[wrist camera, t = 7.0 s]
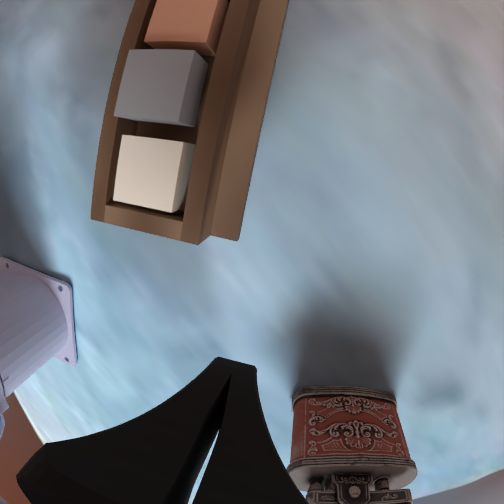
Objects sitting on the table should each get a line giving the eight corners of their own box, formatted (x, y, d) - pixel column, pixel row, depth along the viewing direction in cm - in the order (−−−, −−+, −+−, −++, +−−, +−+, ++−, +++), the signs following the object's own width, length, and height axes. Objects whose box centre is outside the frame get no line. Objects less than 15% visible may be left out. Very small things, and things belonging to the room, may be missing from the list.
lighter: (288, 414, 22) (276, 524, 13) (296, 380, 21) (287, 498, 12) (387, 420, 21) (409, 522, 12) (401, 388, 20) (436, 494, 11)
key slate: (135, 120, 16) (113, 116, 14) (149, 61, 15) (129, 49, 13) (194, 127, 16) (178, 121, 14) (208, 64, 15) (194, 50, 12)
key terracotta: (161, 53, 16) (143, 41, 14) (175, 5, 15) (160, -11, 13) (217, 56, 16) (205, 42, 13) (230, 6, 15) (221, -13, 12)
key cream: (133, 195, 19) (112, 200, 16) (142, 137, 17) (122, 134, 15) (187, 206, 18) (171, 212, 16) (198, 145, 17) (183, 142, 15)
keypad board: (97, 207, 20) (70, 214, 17) (143, -4, 16) (123, -22, 13) (238, 239, 19) (228, 252, 16) (289, 0, 15) (286, -25, 12)
